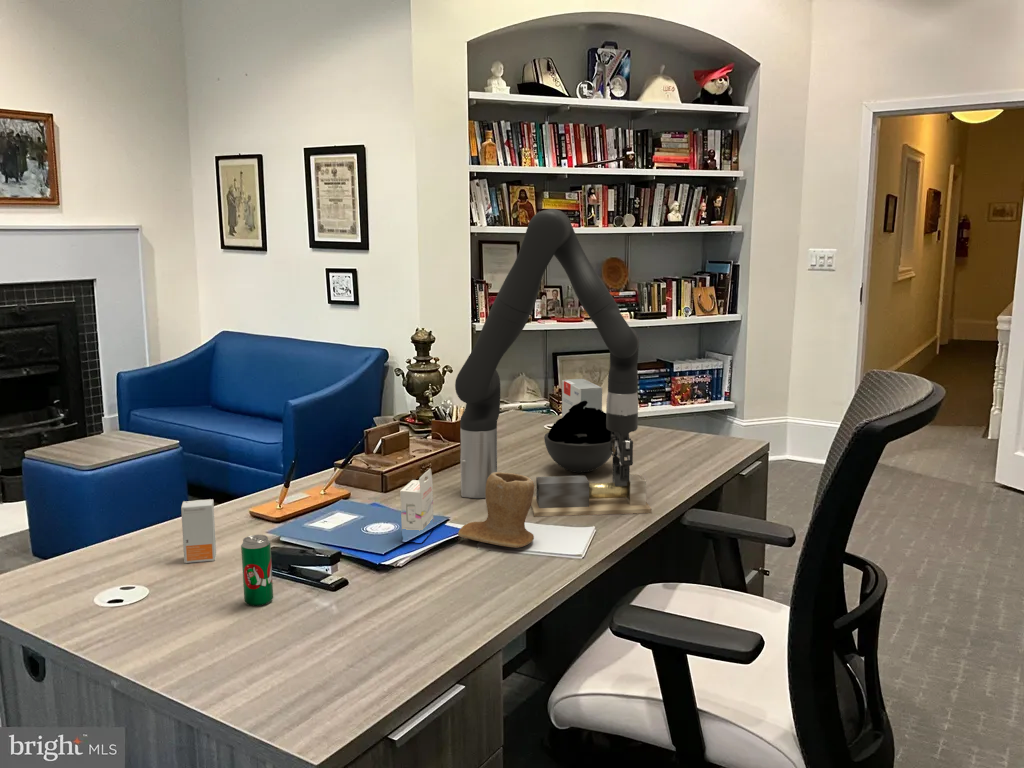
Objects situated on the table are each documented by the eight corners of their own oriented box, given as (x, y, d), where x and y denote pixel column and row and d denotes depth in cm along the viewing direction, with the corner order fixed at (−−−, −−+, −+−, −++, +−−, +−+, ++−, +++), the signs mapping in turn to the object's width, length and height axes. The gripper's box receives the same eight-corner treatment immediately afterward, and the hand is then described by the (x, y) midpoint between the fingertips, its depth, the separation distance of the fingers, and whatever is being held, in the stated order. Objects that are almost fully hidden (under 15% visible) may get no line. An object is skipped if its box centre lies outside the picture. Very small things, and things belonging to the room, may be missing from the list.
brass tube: (571, 501, 206) (572, 467, 205) (569, 496, 210) (569, 463, 208) (641, 499, 208) (642, 465, 206) (637, 494, 211) (638, 461, 210)
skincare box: (184, 564, 173) (180, 507, 171) (186, 556, 177) (182, 501, 175) (215, 561, 175) (212, 504, 173) (217, 553, 179) (213, 498, 177)
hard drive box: (560, 441, 274) (561, 379, 270) (583, 439, 276) (583, 378, 272) (578, 453, 259) (579, 388, 255) (602, 451, 261) (603, 386, 258)
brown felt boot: (544, 538, 188) (544, 471, 185) (518, 556, 178) (518, 486, 175) (484, 526, 195) (484, 462, 192) (456, 543, 185) (455, 476, 182)
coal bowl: (591, 486, 226) (592, 416, 222) (529, 473, 238) (530, 406, 234) (629, 469, 241) (630, 403, 238) (569, 458, 253) (570, 395, 250)
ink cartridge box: (412, 529, 193) (411, 466, 191) (434, 531, 192) (433, 467, 190) (400, 542, 185) (398, 476, 182) (422, 544, 184) (421, 478, 181)
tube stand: (534, 516, 202) (534, 487, 200) (528, 500, 213) (528, 473, 212) (651, 513, 204) (652, 484, 203) (639, 497, 216) (640, 470, 215)
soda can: (262, 593, 159) (259, 531, 157) (279, 600, 156) (275, 537, 154) (238, 602, 155) (235, 539, 153) (255, 610, 152) (251, 545, 150)
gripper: (601, 404, 212) (599, 468, 215) (612, 417, 198) (611, 485, 201) (630, 404, 213) (629, 467, 215) (644, 416, 199) (642, 484, 201)
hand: (620, 475), depth 208 cm, fingers open, 8 cm apart
